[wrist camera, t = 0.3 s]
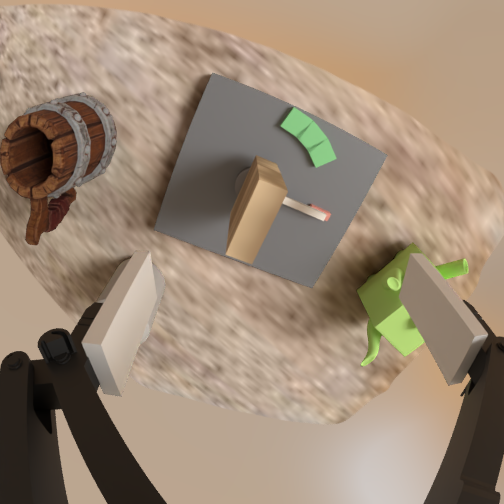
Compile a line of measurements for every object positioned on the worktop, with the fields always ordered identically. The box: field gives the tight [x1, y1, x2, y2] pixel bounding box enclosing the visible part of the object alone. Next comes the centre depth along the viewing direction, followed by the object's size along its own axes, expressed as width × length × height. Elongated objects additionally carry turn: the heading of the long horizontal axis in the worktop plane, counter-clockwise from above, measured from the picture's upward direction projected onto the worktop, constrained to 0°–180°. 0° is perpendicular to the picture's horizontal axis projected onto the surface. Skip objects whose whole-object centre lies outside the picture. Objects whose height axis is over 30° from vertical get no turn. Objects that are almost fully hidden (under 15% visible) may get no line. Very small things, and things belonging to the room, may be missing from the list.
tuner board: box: [154, 73, 387, 288], centre depth 38 cm, size 22×20×3 cm
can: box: [97, 258, 165, 344], centre depth 39 cm, size 8×8×12 cm
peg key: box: [226, 155, 327, 264], centre depth 32 cm, size 11×7×12 cm, turn 67°
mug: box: [0, 92, 117, 245], centre depth 30 cm, size 12×14×15 cm
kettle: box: [356, 243, 468, 366], centre depth 41 cm, size 15×14×11 cm
